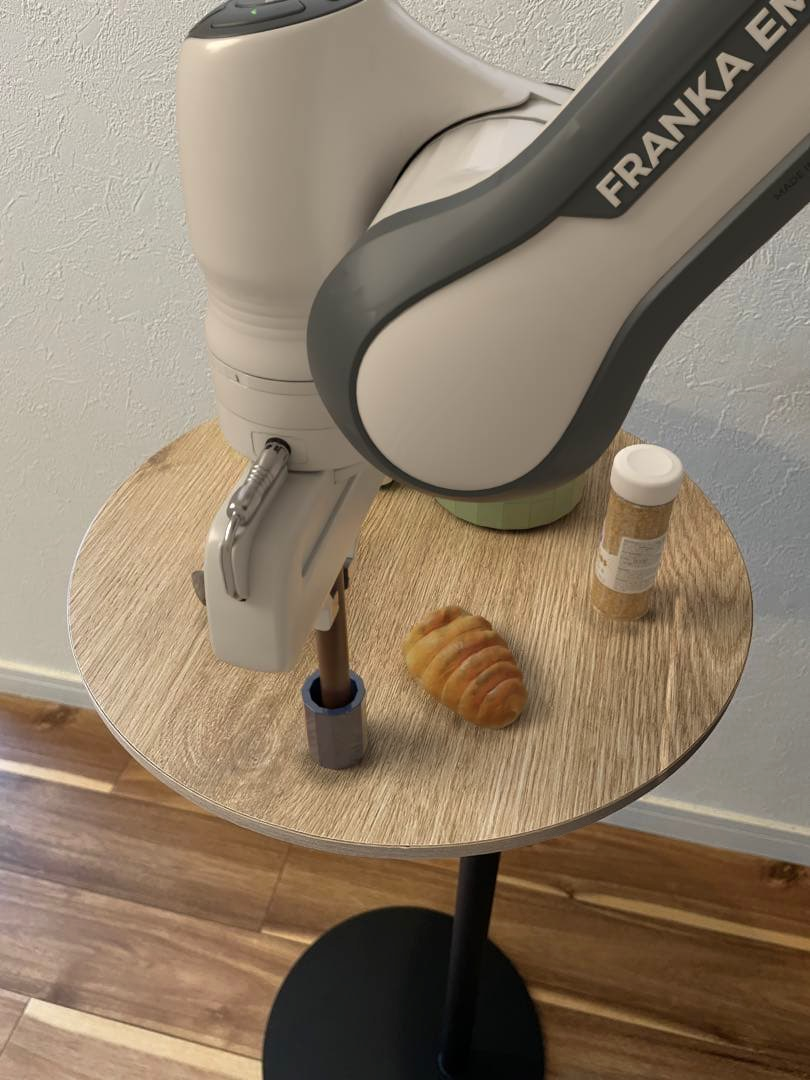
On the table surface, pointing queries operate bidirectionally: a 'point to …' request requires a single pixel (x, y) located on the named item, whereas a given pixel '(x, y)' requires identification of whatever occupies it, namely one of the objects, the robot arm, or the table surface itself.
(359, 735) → the holder
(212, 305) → the robot arm
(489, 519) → the bowl
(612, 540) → the tan spice jar
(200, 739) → the table surface
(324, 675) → the stick
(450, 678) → the pastry
